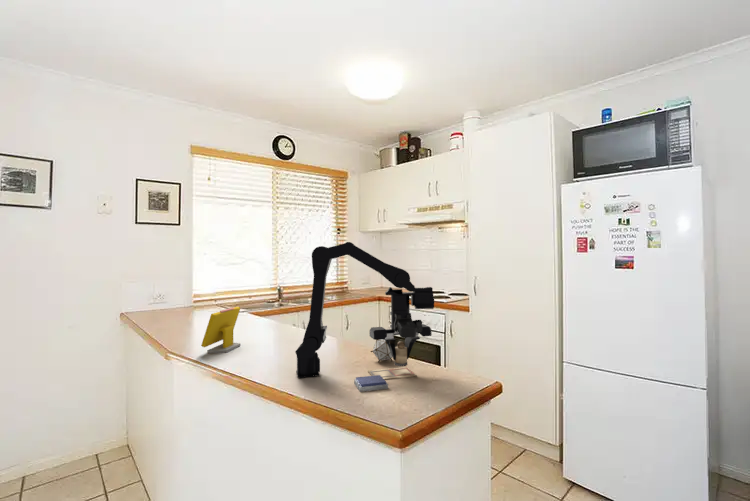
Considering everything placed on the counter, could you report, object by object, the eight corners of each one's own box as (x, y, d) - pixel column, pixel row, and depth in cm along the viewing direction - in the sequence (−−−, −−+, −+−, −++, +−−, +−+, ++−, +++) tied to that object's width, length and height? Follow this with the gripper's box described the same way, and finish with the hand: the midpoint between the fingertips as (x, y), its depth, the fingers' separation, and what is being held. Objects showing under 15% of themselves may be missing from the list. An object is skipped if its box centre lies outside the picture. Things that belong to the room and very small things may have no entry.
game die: (388, 373, 132) (394, 354, 127) (365, 363, 134) (370, 344, 128) (396, 354, 139) (402, 336, 134) (374, 345, 141) (379, 326, 135)
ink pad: (359, 391, 104) (359, 385, 104) (354, 383, 111) (354, 377, 111) (388, 388, 106) (388, 382, 106) (380, 380, 113) (380, 374, 113)
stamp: (392, 363, 121) (392, 340, 121) (404, 362, 122) (404, 339, 123) (397, 366, 118) (396, 343, 118) (409, 365, 119) (409, 342, 119)
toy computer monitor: (228, 342, 164) (228, 305, 164) (246, 343, 163) (245, 305, 163) (201, 355, 144) (200, 312, 144) (220, 355, 143) (220, 313, 143)
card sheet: (375, 380, 113) (375, 379, 113) (367, 371, 122) (367, 370, 122) (416, 376, 117) (416, 375, 117) (406, 367, 125) (406, 366, 125)
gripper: (379, 314, 110) (379, 369, 110) (439, 311, 115) (439, 364, 115) (368, 309, 121) (369, 359, 121) (424, 306, 126) (424, 354, 126)
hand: (400, 359), depth 120 cm, fingers closed on stamp, 4 cm apart
